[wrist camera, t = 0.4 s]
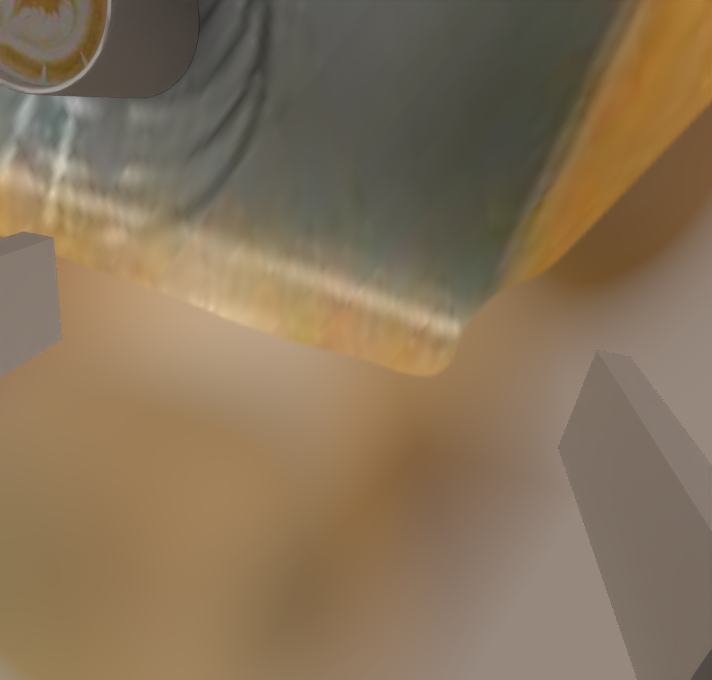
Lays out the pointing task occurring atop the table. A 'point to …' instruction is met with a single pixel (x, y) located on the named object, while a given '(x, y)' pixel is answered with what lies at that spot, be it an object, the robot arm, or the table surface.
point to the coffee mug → (96, 46)
